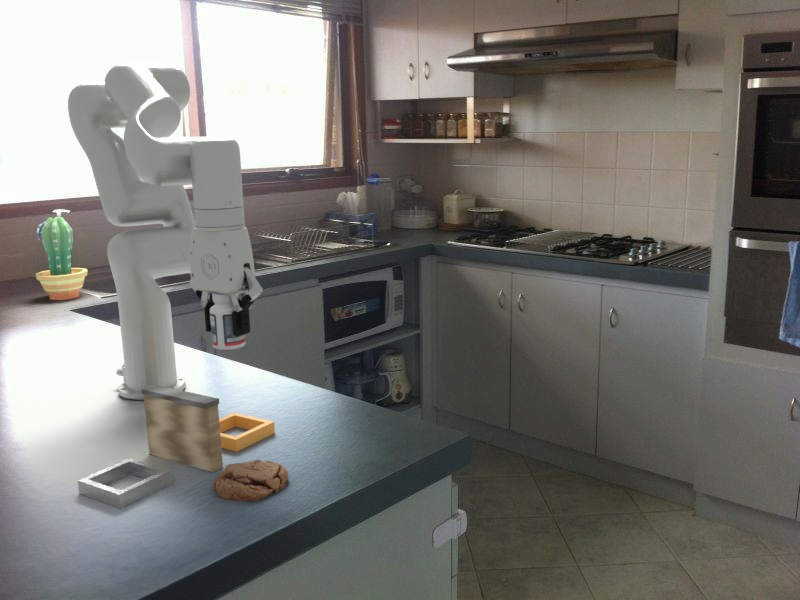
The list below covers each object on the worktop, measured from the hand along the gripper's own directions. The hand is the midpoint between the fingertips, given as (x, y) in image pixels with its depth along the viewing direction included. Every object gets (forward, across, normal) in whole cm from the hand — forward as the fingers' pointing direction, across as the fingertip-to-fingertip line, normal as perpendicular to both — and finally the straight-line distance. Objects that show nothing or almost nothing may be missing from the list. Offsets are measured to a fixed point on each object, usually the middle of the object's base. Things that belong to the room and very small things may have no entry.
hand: (228, 330), depth 128 cm
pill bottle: (+3, 0, 0) cm, 3 cm away
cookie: (+19, +15, -12) cm, 27 cm away
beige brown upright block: (+18, 0, -11) cm, 21 cm away
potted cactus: (+18, -131, +60) cm, 145 cm away
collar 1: (+18, 0, -22) cm, 28 cm away
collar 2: (+18, 0, 0) cm, 18 cm away
